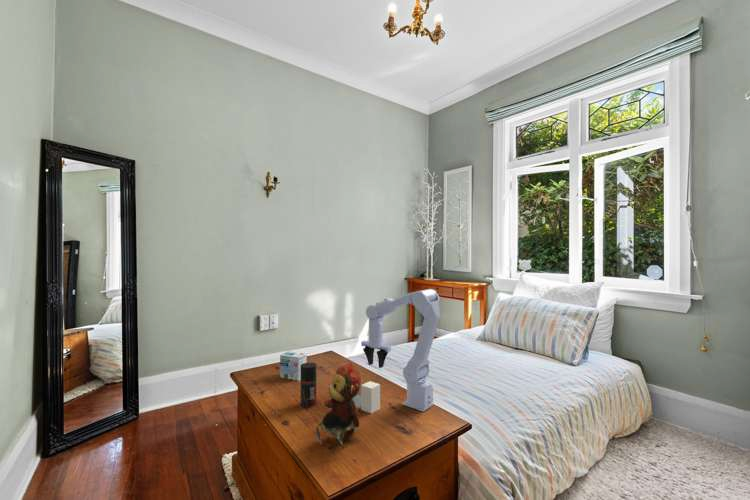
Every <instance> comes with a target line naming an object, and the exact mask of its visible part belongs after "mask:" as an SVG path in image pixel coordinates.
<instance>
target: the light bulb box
mask: <svg viewBox="0 0 750 500" xmlns="http://www.w3.org/2000/svg"><path fill="white" fill-rule="evenodd" d="M307 356H308V355H307V353H305V352H298V351H290V350H289V351H286V352H284V353H282V354H280V355H279V359H280V360H279V366H280V367H279V378H280V377H281V379H285V378H287V380H290V379H292V381H296V380H297V381H296V382H300V381H301V364H304V363H308V362H307V358H308V357H307Z"/></svg>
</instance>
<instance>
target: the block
mask: <svg viewBox="0 0 750 500" xmlns="http://www.w3.org/2000/svg"><path fill="white" fill-rule="evenodd" d="M360 396H361V408H360V409H361V411H364V412H366V413H370V414H374V413H375V412H377V411H379V410H380V409H381V384H380V383H377V382H374V381H371V380H370V381H367V382H365V383H363V384H360Z"/></svg>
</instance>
